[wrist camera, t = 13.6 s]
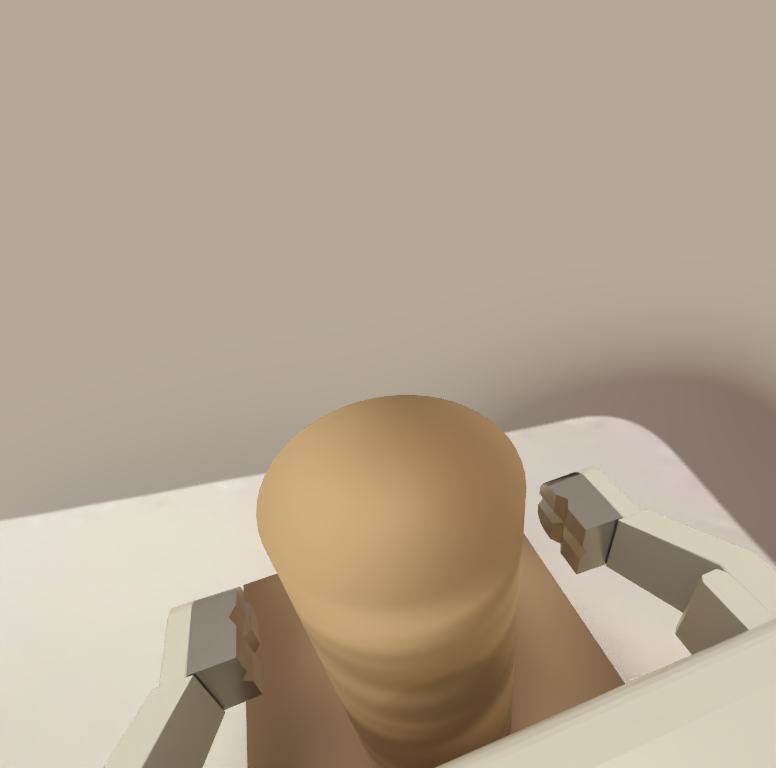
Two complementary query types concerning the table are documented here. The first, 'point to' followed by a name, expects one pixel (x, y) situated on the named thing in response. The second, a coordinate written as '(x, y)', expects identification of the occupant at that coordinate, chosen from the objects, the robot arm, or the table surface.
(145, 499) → the table surface
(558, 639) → the board
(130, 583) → the table surface
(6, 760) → the table surface
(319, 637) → the oak roller
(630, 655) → the table surface
